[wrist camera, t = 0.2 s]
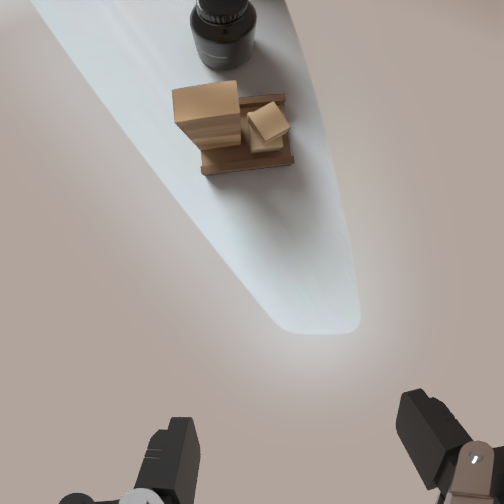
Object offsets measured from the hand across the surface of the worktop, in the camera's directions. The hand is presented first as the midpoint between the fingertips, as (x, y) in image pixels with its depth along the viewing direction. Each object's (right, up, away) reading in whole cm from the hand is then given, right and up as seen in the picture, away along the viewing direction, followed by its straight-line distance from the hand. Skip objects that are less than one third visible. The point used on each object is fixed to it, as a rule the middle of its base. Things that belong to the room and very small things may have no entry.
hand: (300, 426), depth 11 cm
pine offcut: (-1, +20, +25) cm, 31 cm away
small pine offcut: (0, +19, +21) cm, 28 cm away
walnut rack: (-3, +20, +26) cm, 33 cm away
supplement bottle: (-5, +32, +24) cm, 40 cm away
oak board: (-5, +19, +24) cm, 32 cm away
